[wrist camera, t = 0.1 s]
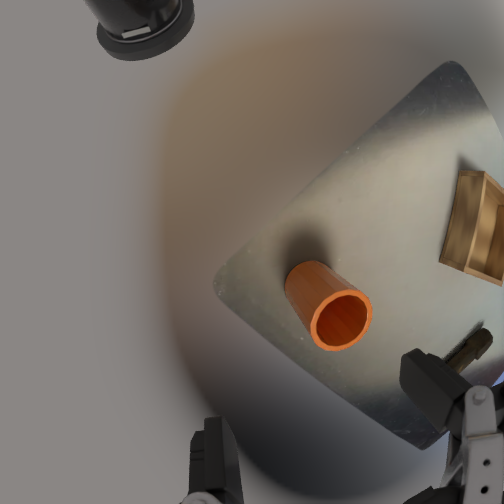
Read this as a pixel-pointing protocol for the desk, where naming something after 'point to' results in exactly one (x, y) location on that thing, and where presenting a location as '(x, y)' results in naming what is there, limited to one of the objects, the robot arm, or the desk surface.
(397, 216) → the desk surface
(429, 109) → the desk surface
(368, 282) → the desk surface
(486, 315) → the desk surface
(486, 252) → the wooden tray
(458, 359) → the dark brown long bar
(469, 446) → the robot arm
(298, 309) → the orange cup
